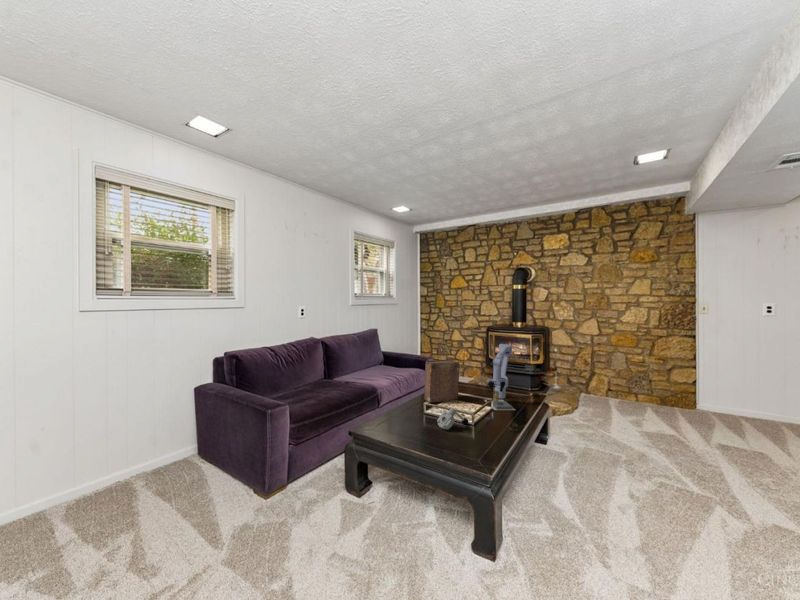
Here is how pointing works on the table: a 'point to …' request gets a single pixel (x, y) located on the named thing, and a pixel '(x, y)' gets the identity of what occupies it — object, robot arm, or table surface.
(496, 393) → the brass rounded knob
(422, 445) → the table surface
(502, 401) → the socket plate
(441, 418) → the mechanical valve
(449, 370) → the book
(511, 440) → the table surface
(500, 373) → the robot arm
